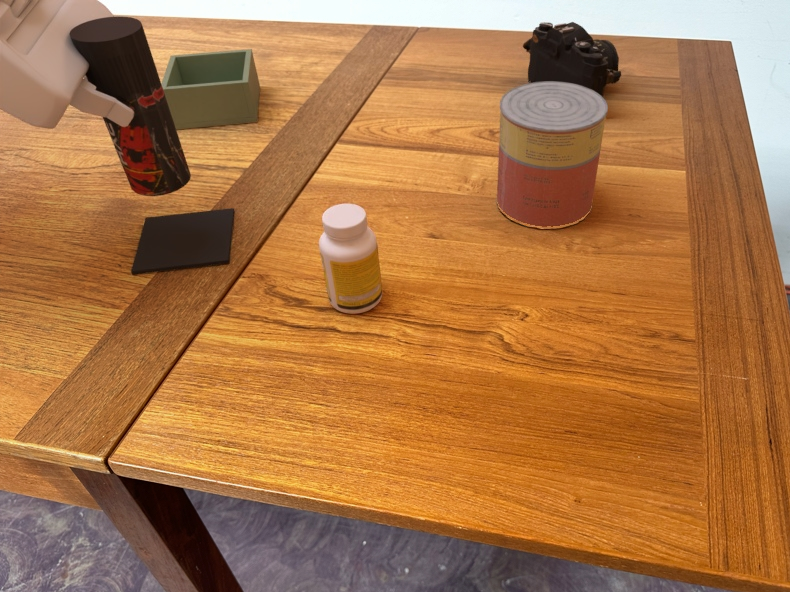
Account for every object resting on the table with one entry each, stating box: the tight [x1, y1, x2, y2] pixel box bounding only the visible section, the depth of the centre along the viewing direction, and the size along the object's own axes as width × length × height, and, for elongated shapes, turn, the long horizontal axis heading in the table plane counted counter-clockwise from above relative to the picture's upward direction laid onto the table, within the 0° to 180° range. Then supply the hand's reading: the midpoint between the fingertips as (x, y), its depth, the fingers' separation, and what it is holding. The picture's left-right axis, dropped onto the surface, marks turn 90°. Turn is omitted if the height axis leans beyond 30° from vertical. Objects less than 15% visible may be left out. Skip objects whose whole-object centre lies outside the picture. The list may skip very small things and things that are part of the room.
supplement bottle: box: [318, 203, 383, 315], centre depth 63 cm, size 5×5×10 cm
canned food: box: [496, 81, 609, 227], centre depth 74 cm, size 11×11×12 cm
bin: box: [161, 48, 261, 131], centre depth 95 cm, size 12×12×6 cm
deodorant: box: [69, 16, 192, 197], centre depth 63 cm, size 6×6×15 cm
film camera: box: [522, 21, 622, 98], centre depth 95 cm, size 18×12×10 cm
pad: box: [130, 207, 236, 276], centre depth 74 cm, size 10×10×1 cm
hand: (138, 100), depth 62 cm, fingers closed on deodorant, 6 cm apart
